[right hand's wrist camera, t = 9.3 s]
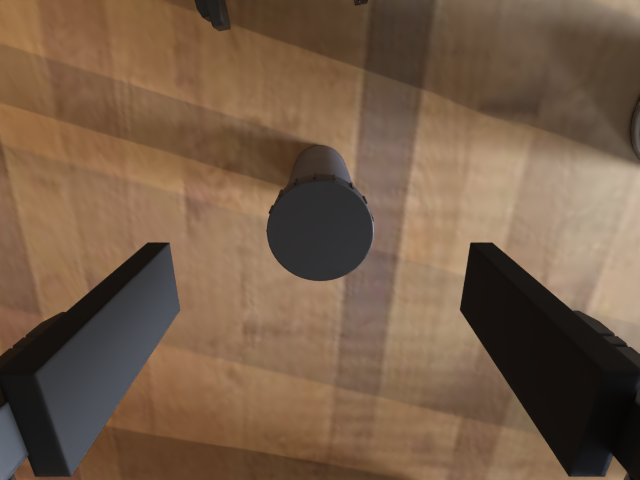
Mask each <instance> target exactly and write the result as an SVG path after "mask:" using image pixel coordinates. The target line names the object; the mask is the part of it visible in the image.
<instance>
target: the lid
mask: <svg viewBox="0 0 640 480" xmlns="http://www.w3.org/2000/svg"><path fill="white" fill-rule="evenodd" d="M269 214H270V216H269V219H268V224H267V230H266V231H267V238H268V242H269V246H270V249H271V251H272V253H273V255H274V256H275V258H276V259H277V261H278V262H279V263H280V264H281V265H282V266H283V267H284V268H285V269H287V270H288V271H289V272H291V273H292V274H294V275H296V276H298V277H301V278H304V279H308V280H313V281H327V280H333V279H337V278H340V277H342V276H344V275H346V274H348V273H350V272H351V271H353V270H354V269H355V268H357V267H358V266H359V265H360V264H361V263H362V261H363V260H364V259H365V257H366V256H367V254H368V252H369V250H370V248H371V245H372V241H373V235H374V226H373V221H374V219H373V217H372V215H371V213H370V211H369V209H368V206H367V201H366V198H365V196H362V195H361V194H360V192H359V191H358V190H357V189H356V188H355V187H354V186H353V183H352V182H350V183H349V182H347V181H346V180H344V179H342V178H339V177H336V176H335V174H333V175H328V174H316V173H314V174H313V175H307V176H304V177H301V178H299V179H297V178H295V180H294V181H293V182H292V183H290V184H289V185H288V186H287V187H286V188H284V190H282V189H281V190H280V193H279V195H278V197H277V199H276V201H275V203H274V206H273V205H272V206H271V209H270V211H269Z"/></svg>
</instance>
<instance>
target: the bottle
mask: <svg viewBox="0 0 640 480" xmlns="http://www.w3.org/2000/svg"><path fill="white" fill-rule="evenodd" d="M314 173H316V174H328V175H333V174H335V176H336V177H339V178H342V179H344V180H346V181H347V182H349V183H350V182H352V181H351V178H350V175H349V173H348V170H347V167H346V165H345V162H344V160H343V158H342V156H341V155H340V154H339V153H338V152H337V151H336V150H334V149H333V148H331V147H328V146H324V145H317V146H312V147H310V148H308V149H306V150H305V151H303V152H302V153H301V154H300V155H299V157H298V158H297V161H296V163H295V166H294V168H293V171H292V174H291V177H290V179H289V182H288V185H289V184H290V183H292V182H293V181H294V180H295V178H297V179H299V178H301V177H304V176H307V175H313V174H314ZM288 185H287V186H288Z"/></svg>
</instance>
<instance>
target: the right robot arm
mask: <svg viewBox="0 0 640 480" xmlns="http://www.w3.org/2000/svg"><path fill="white" fill-rule="evenodd" d="M179 311H180V306H179V300H178V294H177V287H176V281H175V275H174V268H173V262H172V256H171V249H170V243H147V244H146V245H144V246H143V247H142V248H141V249H140V250H138V251H137V252H136V253H135V254H134V255H133V256H131V257H130V258H129V259H128V260H127V261H126V262H124V263H123V264H122V265H121V266H120V267H118V268H117V269H116V270H115V271H114V272H113V273H111V274H110V275H109V276H108V277H107V278H106V279H104V280H103V281H102V282H101V283H100V284H99V285H97V286H96V287H95V288H94V289H93V290H91V291H90V292H89V293H88V294H87V295H86V296H84V297H83V298H82V299H81V300H80V301H79V302H77V303H76V304H75V305H74V306H73V307H71V308H70V309H69V310H68V311H67V312H61V313H59V314H57V315H55V316H53V317H51V318H49V319H48V320H46V321H44V322H42V323H40V324H39V325H38V326H37V327H35V328H34V329H33V330H32V331H31V332H29V333H28V334H27V335H26V338H22V339H21V340H19V341H18V342H17V343H16V344H15V345H13V348H10V349H8V350H7V351H6V352H5V353H3V354H2V355H1V356H0V480H16V478H15V476H14V472H15V471H16V470H17V469H18V467H19V466H20V465H21V464H22V462H23V461H24V460H25V459H26V458H27V457H28V460H29V462H30V465H31V467H32V470H33V472H34V475H35V477H71V476H72V474H73V473H74V471H75V470H76V468H77V467H78V465H79V464H80V462H81V461H82V459H83V457H84V456H85V454H86V453H87V451H88V450H89V448H90V447H91V445H92V444H93V442H94V441H95V439H96V438H97V436H98V435H99V433H100V431H101V430H102V428H103V427H104V425H105V424H106V422H107V421H108V419H109V418H110V416H111V415H112V413H113V412H114V410H115V409H116V407H117V406H118V404H119V402H120V401H121V399H122V398H123V396H124V395H125V393H126V392H127V390H128V389H129V387H130V386H131V384H132V383H133V381H134V380H135V378H136V376H137V375H138V373H139V372H140V370H141V369H142V367H143V366H144V364H145V363H146V361H147V360H148V358H149V357H150V355H151V354H152V352H153V351H154V349H155V347H156V346H157V344H158V343H159V341H160V340H161V338H162V337H163V335H164V334H165V332H166V331H167V329H168V328H169V326H170V325H171V323H172V321H173V320H174V318H175V317H176V315H177V314H178V312H179ZM460 311H461V312H462V314H463V315H464V317H465V318H466V320H467V321H468V323H469V325H470V326H471V328H472V329H473V331H474V332H475V334H476V335H477V337H478V338H479V340H480V341H481V343H482V344H483V346H484V347H485V349H486V351H487V352H488V354H489V355H490V357H491V358H492V360H493V361H494V363H495V364H496V366H497V367H498V369H499V370H500V372H501V373H502V375H503V376H504V378H505V380H506V381H507V383H508V384H509V386H510V387H511V389H512V390H513V392H514V393H515V395H516V396H517V398H518V399H519V401H520V402H521V404H522V406H523V407H524V409H525V410H526V412H527V413H528V415H529V416H530V418H531V419H532V421H533V422H534V424H535V425H536V427H537V428H538V430H539V431H540V433H541V435H542V436H543V438H544V439H545V441H546V442H547V444H548V445H549V447H550V448H551V450H552V451H553V453H554V454H555V456H556V457H557V459H558V460H559V462H560V464H561V465H562V467H563V468H564V470H565V471H566V473H567V474H568V476H569V477H605V475H606V472H607V470H608V467H609V465H610V462H611V460H612V457H613V455H614V457H615V458H616V459H617V460H618V462H619V463H620V464H621V465H622V466H623V468H624V469H625V470H626V471H627V473H626V476H625V478H624V480H640V354H639V353H638V352H636V351H635V350H634V349H633V348H631V347H628V346H627V344H626V343H625V342H624V341H623V340H622V339H620V338H619V337H618V336H615V335H614V333H613V332H612V331H610V330H609V329H608V328H607V327H605V326H604V325H603V324H602V323H600V322H599V321H597V320H595V319H594V318H592V317H590V316H588V315H586V314H584V313H582V312H580V311H572V310H571V309H570V308H569V307H567V306H566V305H565V304H564V303H563V302H561V301H560V300H559V299H558V298H557V297H556V296H554V295H553V294H552V293H551V292H550V291H549V290H547V289H546V288H545V287H544V286H543V285H542V284H540V283H539V282H538V281H537V280H536V279H534V278H533V277H532V276H531V275H530V274H529V273H527V272H526V271H525V270H524V269H523V268H522V267H520V266H519V265H518V264H517V263H516V262H514V261H513V260H512V259H511V258H510V257H509V256H507V255H506V254H505V253H504V252H503V251H502V250H500V249H499V248H498V247H497V246H496V245H494V244H493V243H470V249H469V256H468V262H467V268H466V275H465V281H464V287H463V294H462V300H461V307H460Z"/></svg>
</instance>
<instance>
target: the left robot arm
mask: <svg viewBox="0 0 640 480" xmlns="http://www.w3.org/2000/svg"><path fill="white" fill-rule="evenodd" d="M367 1H368V0H354V3H355V6H356V5H361V4H366V3H367ZM195 3H196V7H197V9H198V11H199V13H200V14H201V16H202V17H203V18H204V19H206V20H207V21H209V22H211V23H212V26H213V27H214V28H215V29H217V30H218V31H223V30H228V29H230V28H231V27H230V21H229V16H228V11H227V7H226V2H225V0H195ZM631 140H632V145H633V148H634V150H635V152H636V154H637V156H638V157H639V159H640V100H639V102H638V104H637V106H636V108H635V111H634V114H633V118H632V123H631Z"/></svg>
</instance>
